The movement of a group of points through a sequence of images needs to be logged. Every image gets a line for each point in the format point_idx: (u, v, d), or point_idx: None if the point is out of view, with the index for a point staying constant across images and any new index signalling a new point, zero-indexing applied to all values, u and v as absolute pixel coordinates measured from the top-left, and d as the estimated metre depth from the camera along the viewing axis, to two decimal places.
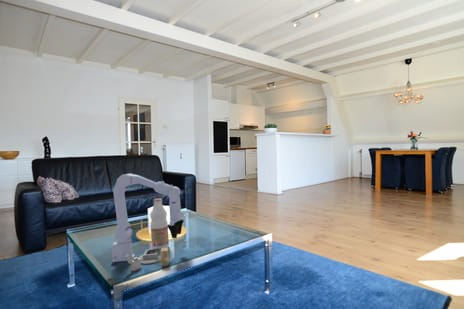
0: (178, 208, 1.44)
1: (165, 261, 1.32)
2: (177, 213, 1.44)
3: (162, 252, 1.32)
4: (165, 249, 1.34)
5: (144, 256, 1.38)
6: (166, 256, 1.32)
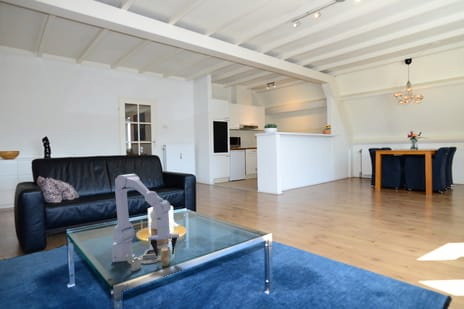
0: (164, 225, 1.32)
1: (165, 261, 1.32)
2: (158, 230, 1.33)
3: (162, 252, 1.32)
4: (165, 249, 1.34)
5: (144, 256, 1.38)
6: (166, 256, 1.32)
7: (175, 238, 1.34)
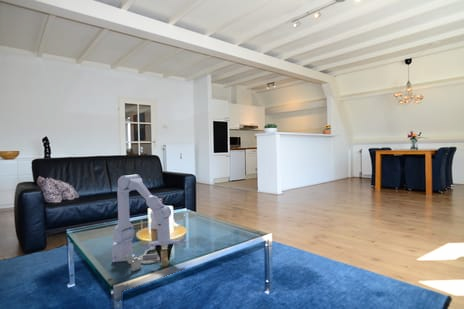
0: (164, 231, 1.32)
1: (165, 261, 1.32)
2: (158, 236, 1.32)
3: (162, 252, 1.32)
4: (165, 249, 1.34)
5: (144, 256, 1.38)
6: (166, 256, 1.32)
7: None
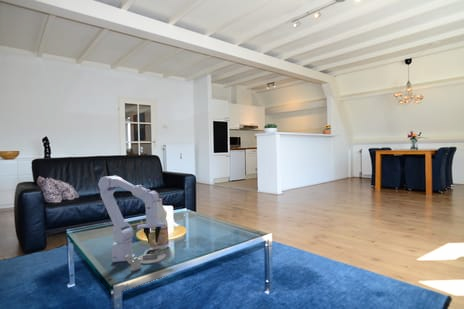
0: (153, 214, 1.39)
1: (153, 243, 1.38)
2: (146, 219, 1.39)
3: (150, 234, 1.38)
4: (153, 232, 1.40)
5: (144, 256, 1.38)
6: (154, 238, 1.38)
7: None
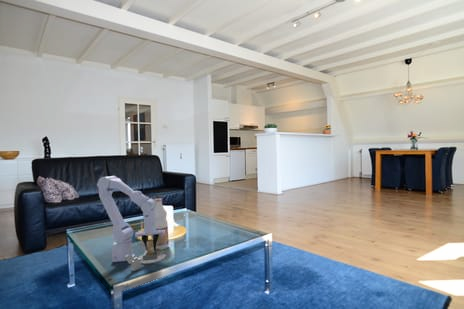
0: (151, 222, 1.40)
1: (151, 250, 1.40)
2: (144, 227, 1.41)
3: (148, 242, 1.40)
4: (151, 239, 1.42)
5: (144, 256, 1.38)
6: (152, 246, 1.40)
7: (161, 234, 1.42)
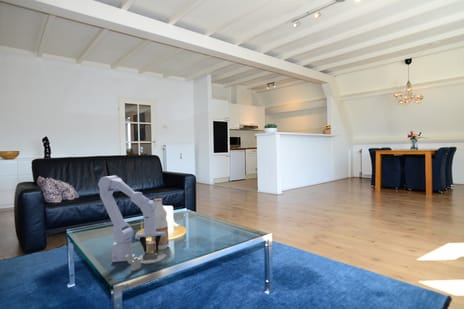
0: (151, 223, 1.40)
1: None
2: (144, 228, 1.41)
3: (148, 246, 1.40)
4: (151, 243, 1.42)
5: (144, 256, 1.38)
6: (152, 249, 1.40)
7: None
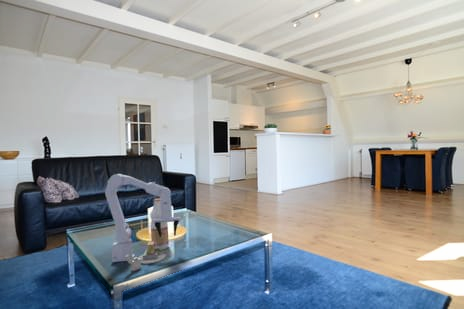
0: (169, 208, 1.48)
1: None
2: (161, 213, 1.47)
3: (148, 246, 1.40)
4: (151, 243, 1.42)
5: (144, 256, 1.38)
6: (152, 249, 1.40)
7: (177, 221, 1.49)
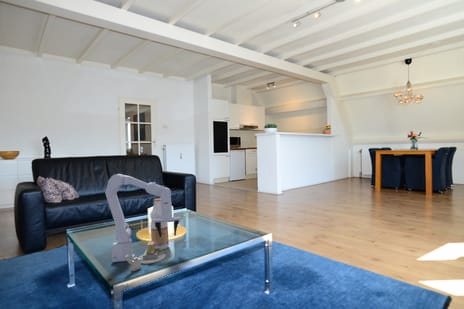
0: (170, 208, 1.48)
1: None
2: (162, 214, 1.47)
3: (148, 246, 1.40)
4: (151, 243, 1.42)
5: (144, 256, 1.38)
6: (152, 249, 1.40)
7: (177, 221, 1.49)
